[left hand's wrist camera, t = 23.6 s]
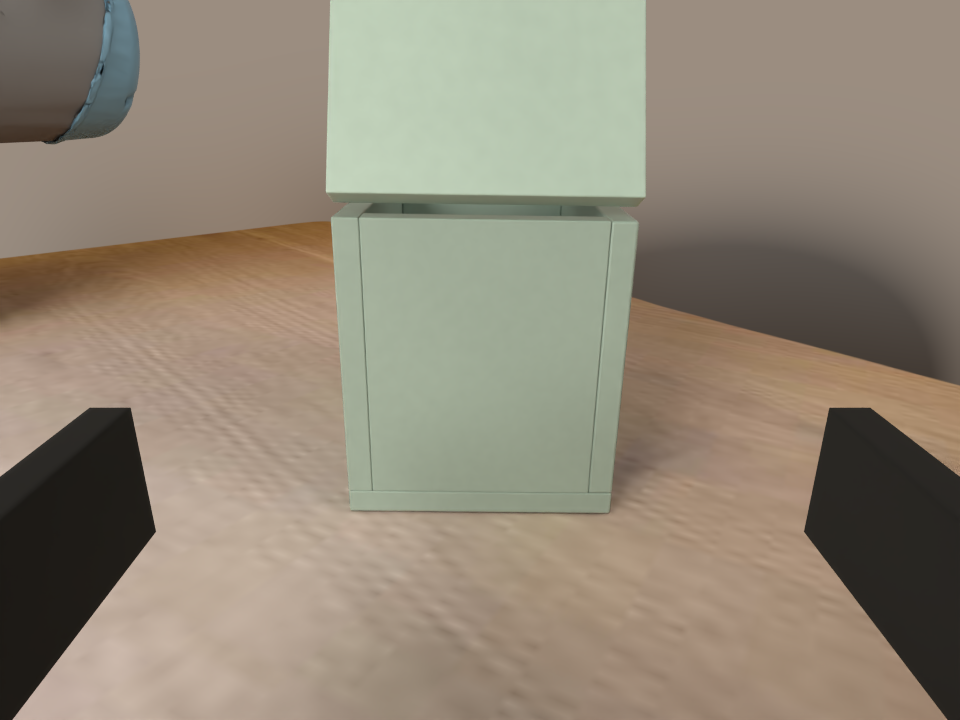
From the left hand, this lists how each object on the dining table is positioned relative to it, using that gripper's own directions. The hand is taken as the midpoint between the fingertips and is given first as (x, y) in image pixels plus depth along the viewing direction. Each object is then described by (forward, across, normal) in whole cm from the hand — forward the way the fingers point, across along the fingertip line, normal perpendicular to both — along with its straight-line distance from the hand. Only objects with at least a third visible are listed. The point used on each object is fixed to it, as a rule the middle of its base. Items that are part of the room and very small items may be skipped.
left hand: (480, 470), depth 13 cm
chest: (+16, 0, -7) cm, 18 cm away
